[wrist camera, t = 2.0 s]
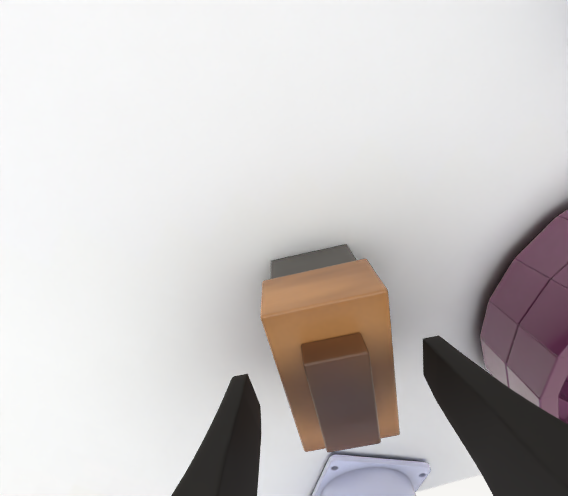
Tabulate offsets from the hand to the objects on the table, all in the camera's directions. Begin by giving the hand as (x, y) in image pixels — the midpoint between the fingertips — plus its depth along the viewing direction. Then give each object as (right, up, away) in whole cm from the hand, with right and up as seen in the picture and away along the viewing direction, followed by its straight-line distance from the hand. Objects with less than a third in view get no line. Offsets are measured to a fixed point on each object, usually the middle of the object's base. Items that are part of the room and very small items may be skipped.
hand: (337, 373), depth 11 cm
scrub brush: (0, +2, +4) cm, 4 cm away
